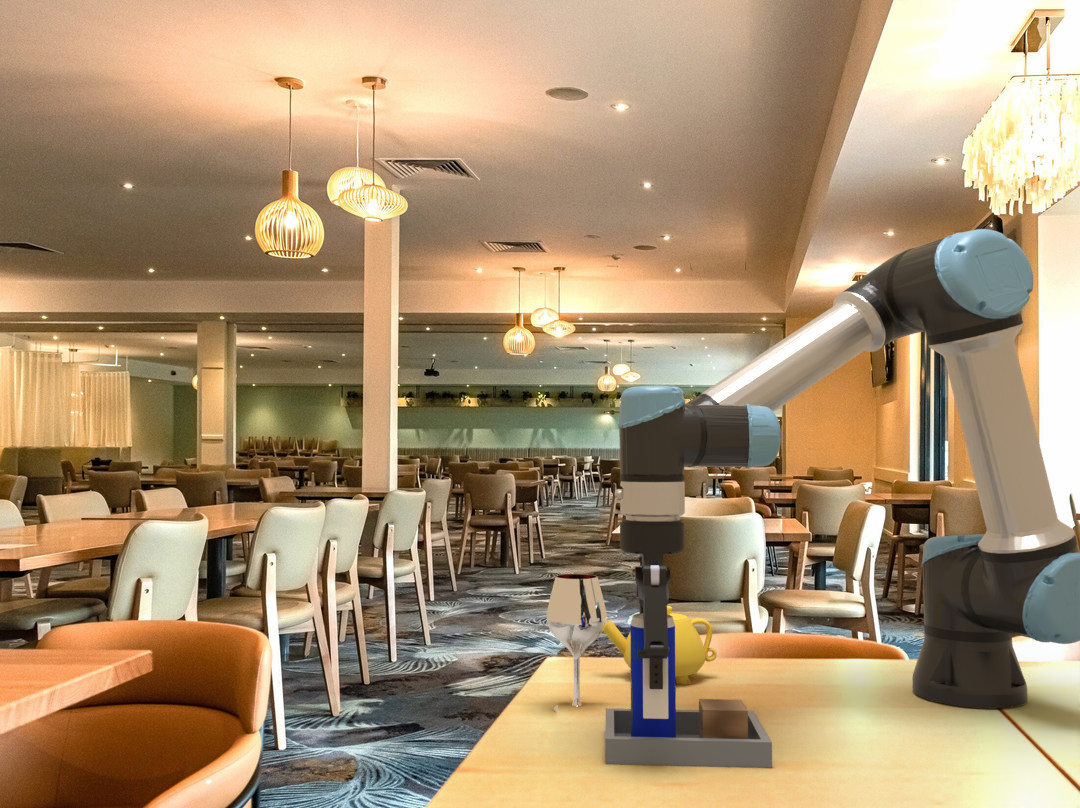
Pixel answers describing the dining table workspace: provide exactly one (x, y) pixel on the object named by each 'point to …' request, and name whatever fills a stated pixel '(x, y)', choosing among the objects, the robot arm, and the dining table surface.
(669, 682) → the beverage can
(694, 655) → the teapot
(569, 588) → the wineglass
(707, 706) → the walnut block
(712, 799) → the dining table surface
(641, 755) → the tray
